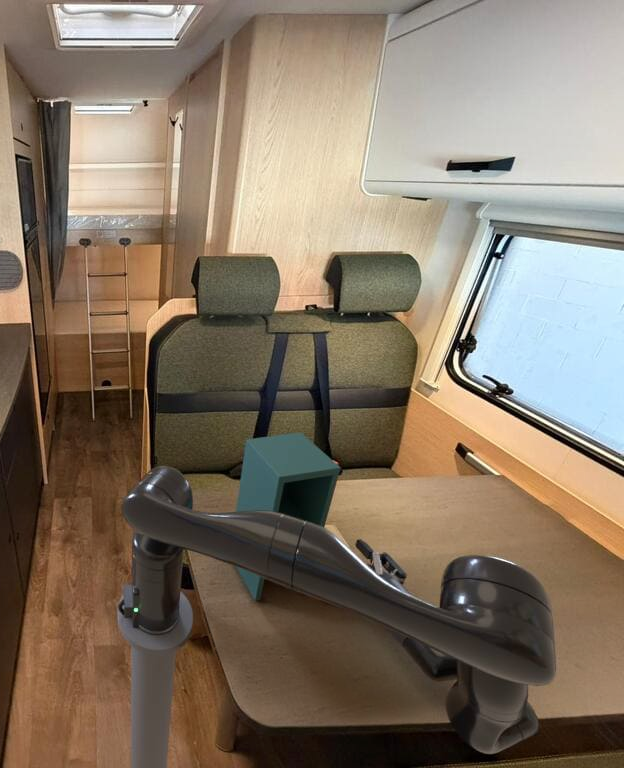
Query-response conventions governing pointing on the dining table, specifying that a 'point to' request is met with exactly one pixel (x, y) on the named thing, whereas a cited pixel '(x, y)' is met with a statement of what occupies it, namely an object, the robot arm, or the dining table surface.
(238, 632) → the dining table surface
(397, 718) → the dining table surface
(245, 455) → the shelf
